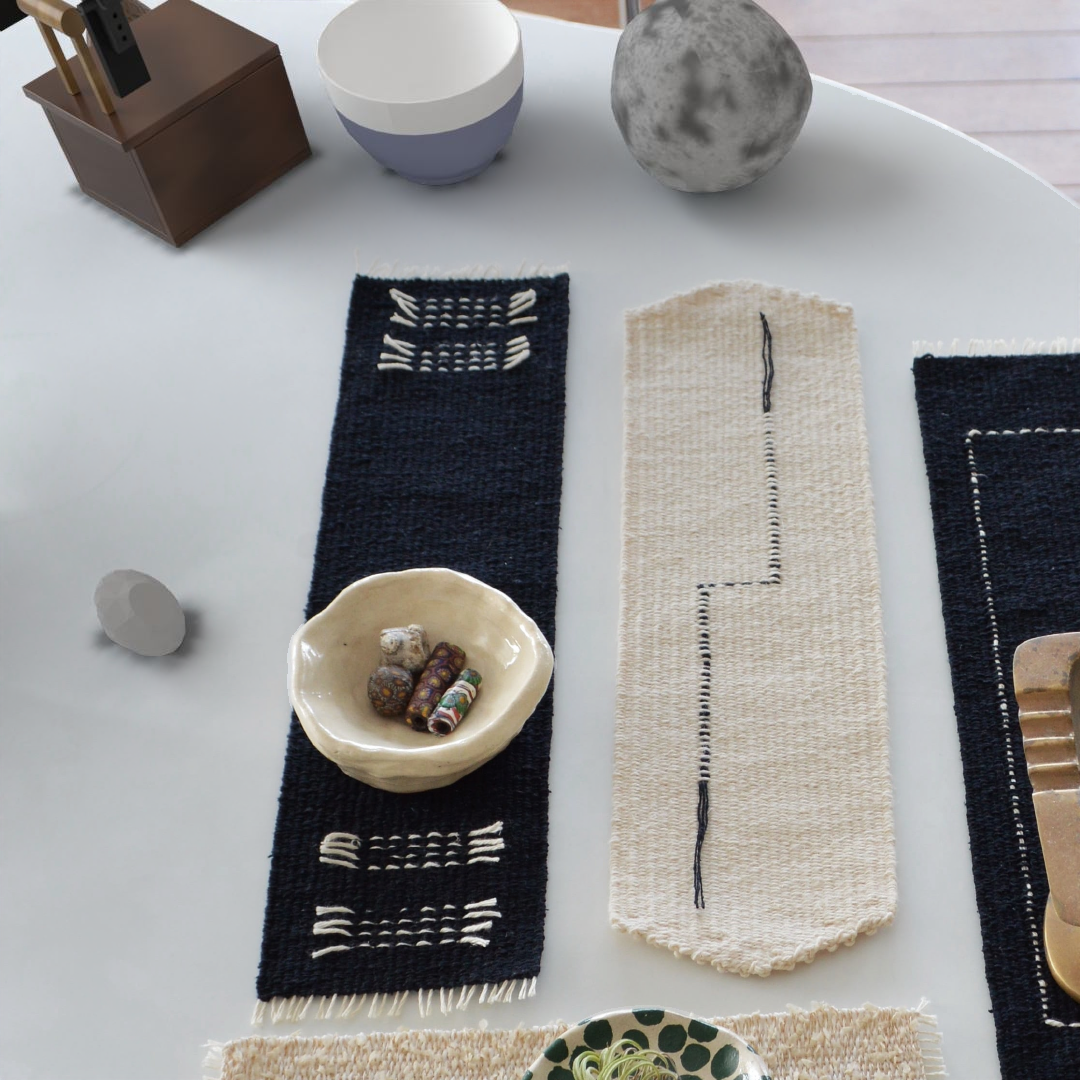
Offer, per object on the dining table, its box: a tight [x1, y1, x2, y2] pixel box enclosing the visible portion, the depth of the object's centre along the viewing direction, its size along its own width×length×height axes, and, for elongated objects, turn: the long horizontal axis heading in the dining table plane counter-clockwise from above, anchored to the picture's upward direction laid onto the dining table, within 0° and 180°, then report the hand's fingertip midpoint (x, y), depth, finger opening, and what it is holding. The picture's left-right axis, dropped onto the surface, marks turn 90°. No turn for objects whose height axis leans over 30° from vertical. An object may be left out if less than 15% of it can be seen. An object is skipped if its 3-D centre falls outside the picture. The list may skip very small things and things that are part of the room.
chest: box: [40, 54, 313, 248], centre depth 115 cm, size 15×12×9 cm
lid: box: [16, 0, 282, 153], centre depth 107 cm, size 15×12×9 cm
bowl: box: [314, 0, 525, 186], centre depth 116 cm, size 16×16×10 cm
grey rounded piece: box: [93, 568, 187, 658], centre depth 92 cm, size 6×6×5 cm
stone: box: [610, 0, 814, 194], centre depth 111 cm, size 15×16×15 cm
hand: (72, 54), depth 105 cm, fingers open, 13 cm apart
